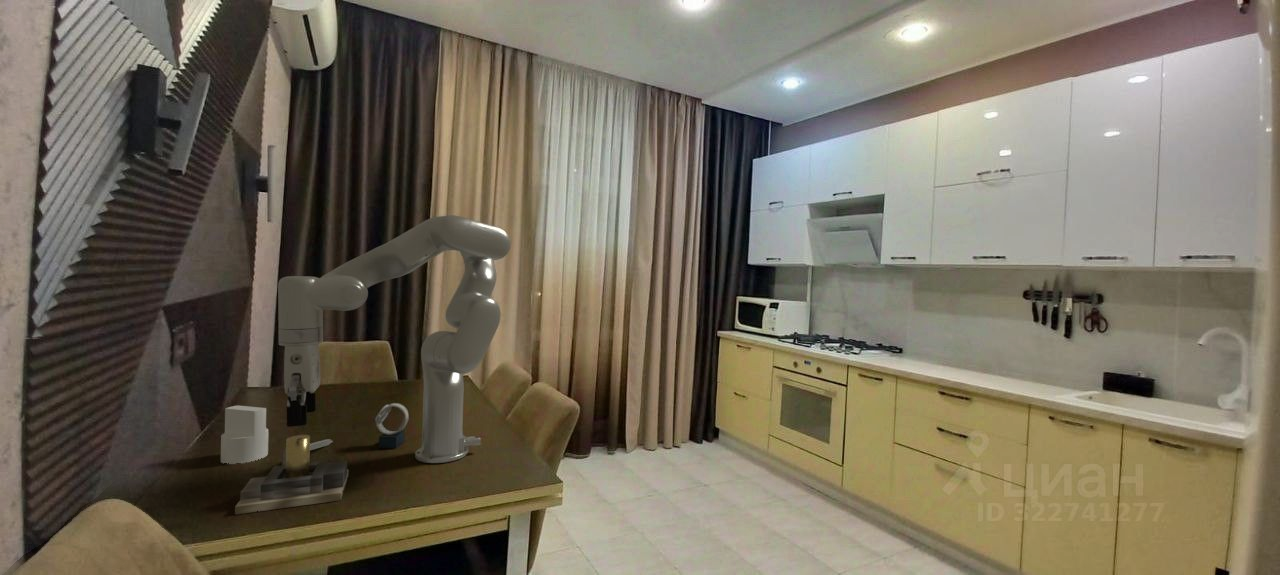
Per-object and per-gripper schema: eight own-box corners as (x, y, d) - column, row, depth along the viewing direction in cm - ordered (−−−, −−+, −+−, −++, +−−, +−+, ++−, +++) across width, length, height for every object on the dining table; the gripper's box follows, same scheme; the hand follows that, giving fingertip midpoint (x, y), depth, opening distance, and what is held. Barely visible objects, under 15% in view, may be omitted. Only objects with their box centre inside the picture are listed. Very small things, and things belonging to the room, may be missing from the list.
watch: (380, 441, 134) (381, 401, 134) (410, 441, 134) (412, 401, 134) (370, 448, 128) (371, 406, 128) (402, 448, 129) (403, 407, 129)
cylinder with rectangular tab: (277, 452, 123) (278, 405, 123) (242, 465, 114) (243, 414, 114) (247, 449, 125) (248, 402, 125) (210, 462, 116) (211, 411, 116)
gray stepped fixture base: (348, 475, 111) (348, 456, 111) (340, 500, 99) (341, 478, 99) (255, 487, 103) (255, 465, 103) (235, 514, 92) (235, 490, 92)
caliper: (287, 472, 112) (288, 445, 112) (282, 472, 112) (282, 445, 112) (333, 442, 132) (333, 419, 132) (328, 442, 132) (329, 419, 132)
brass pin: (310, 480, 104) (311, 434, 104) (307, 488, 100) (307, 439, 100) (288, 483, 102) (288, 436, 102) (283, 491, 99) (284, 442, 98)
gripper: (315, 341, 94) (316, 429, 95) (329, 330, 110) (329, 405, 111) (267, 343, 91) (268, 433, 92) (288, 331, 107) (289, 409, 108)
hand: (301, 418), depth 101 cm, fingers open, 9 cm apart
